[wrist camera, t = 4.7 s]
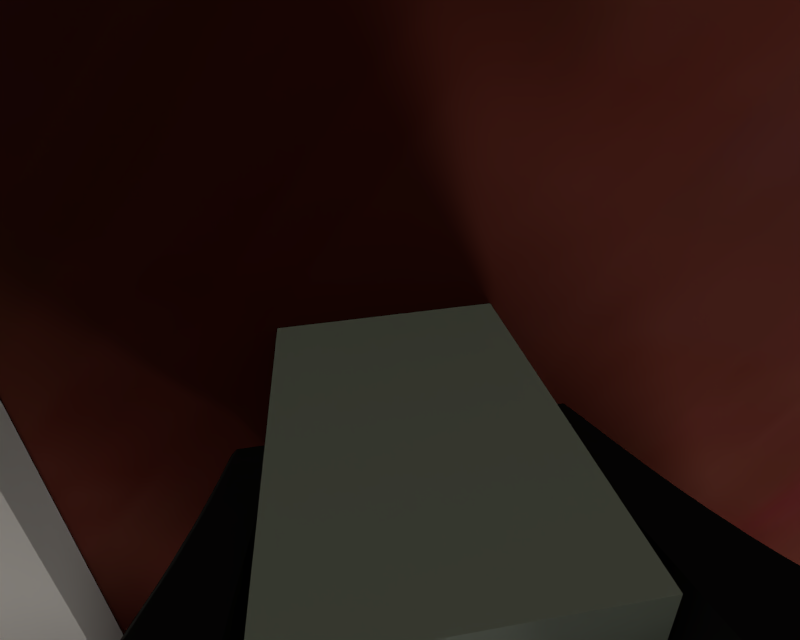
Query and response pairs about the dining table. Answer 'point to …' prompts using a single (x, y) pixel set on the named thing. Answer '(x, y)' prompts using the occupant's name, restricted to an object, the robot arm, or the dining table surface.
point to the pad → (41, 559)
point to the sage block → (437, 496)
